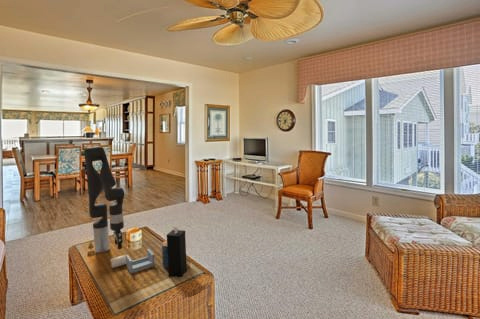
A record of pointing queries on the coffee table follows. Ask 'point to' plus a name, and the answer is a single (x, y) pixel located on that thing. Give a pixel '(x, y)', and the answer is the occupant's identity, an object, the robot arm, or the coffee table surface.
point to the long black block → (176, 253)
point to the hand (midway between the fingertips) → (118, 246)
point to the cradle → (140, 262)
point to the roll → (118, 261)
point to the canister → (165, 255)
